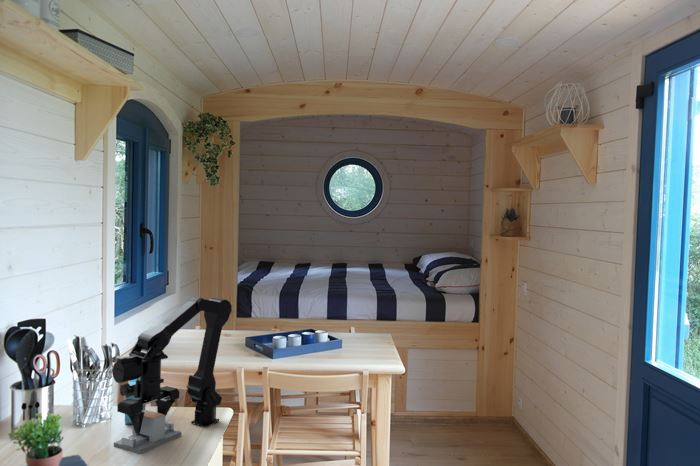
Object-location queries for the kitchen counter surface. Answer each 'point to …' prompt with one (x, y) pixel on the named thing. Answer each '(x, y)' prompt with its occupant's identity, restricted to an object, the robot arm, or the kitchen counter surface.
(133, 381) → the blue block
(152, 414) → the rail module
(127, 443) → the rail mount
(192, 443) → the kitchen counter surface
